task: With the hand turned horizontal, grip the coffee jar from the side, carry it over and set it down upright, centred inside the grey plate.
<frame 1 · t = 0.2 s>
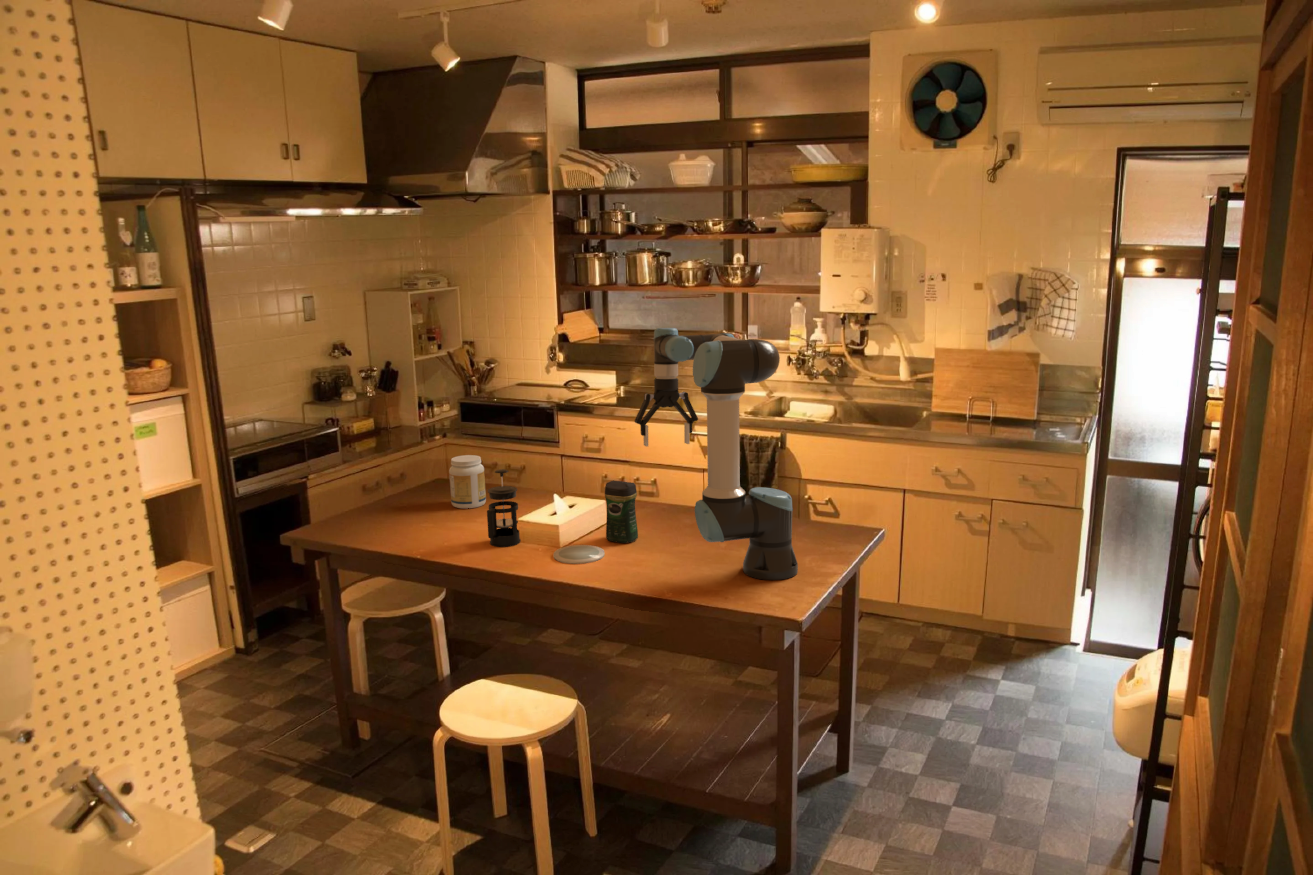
hand: (666, 444, 300), 27 cm above the table, tool pointing down, fingers open, 13 cm apart
coffee jar: (622, 540, 295), on the table
supplement tub: (468, 505, 337), on the table
grey plate: (579, 555, 281), on the table
french press: (504, 543, 294), on the table
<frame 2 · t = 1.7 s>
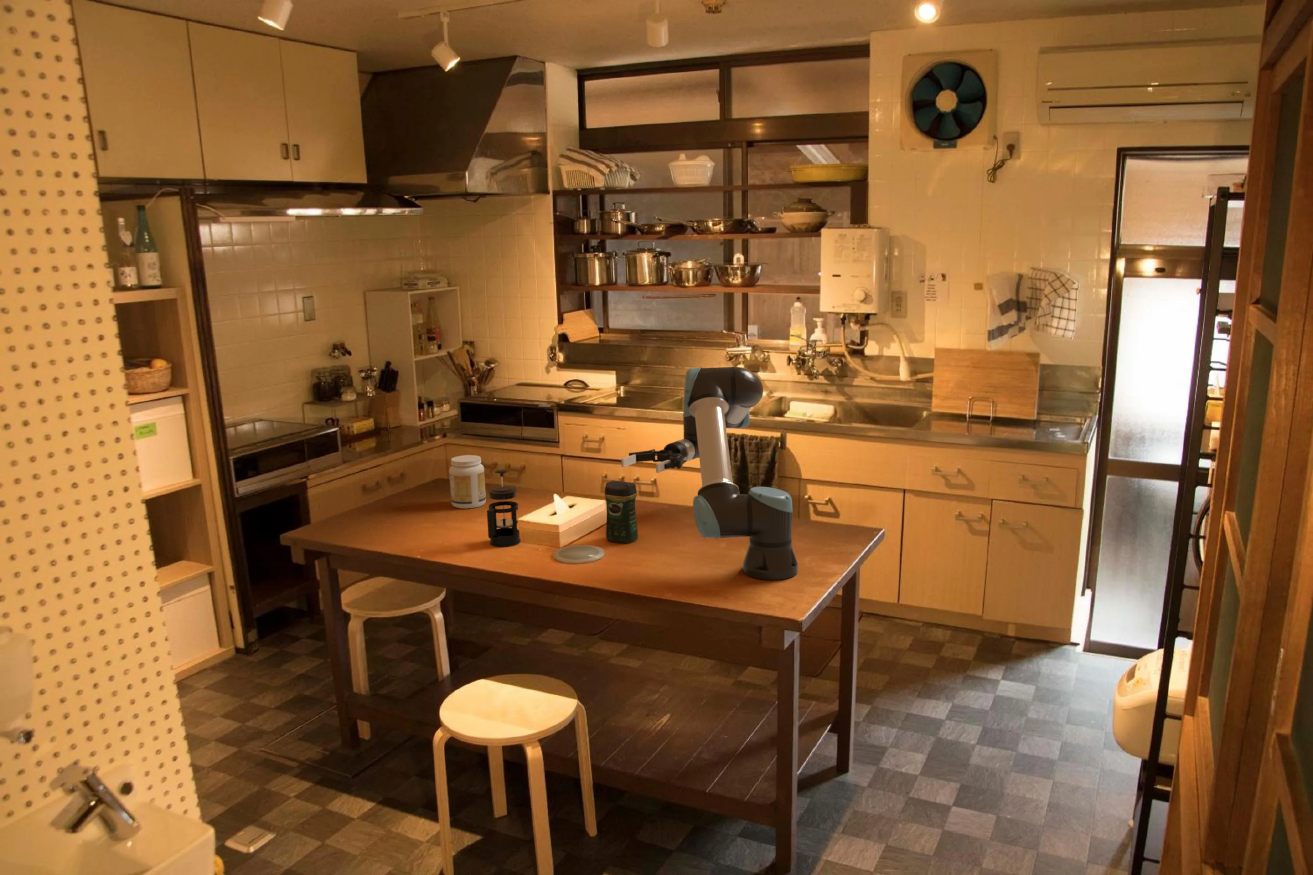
hand: (639, 465, 298), 22 cm above the table, tool horizontal, fingers open, 13 cm apart
nothing on the table moved.
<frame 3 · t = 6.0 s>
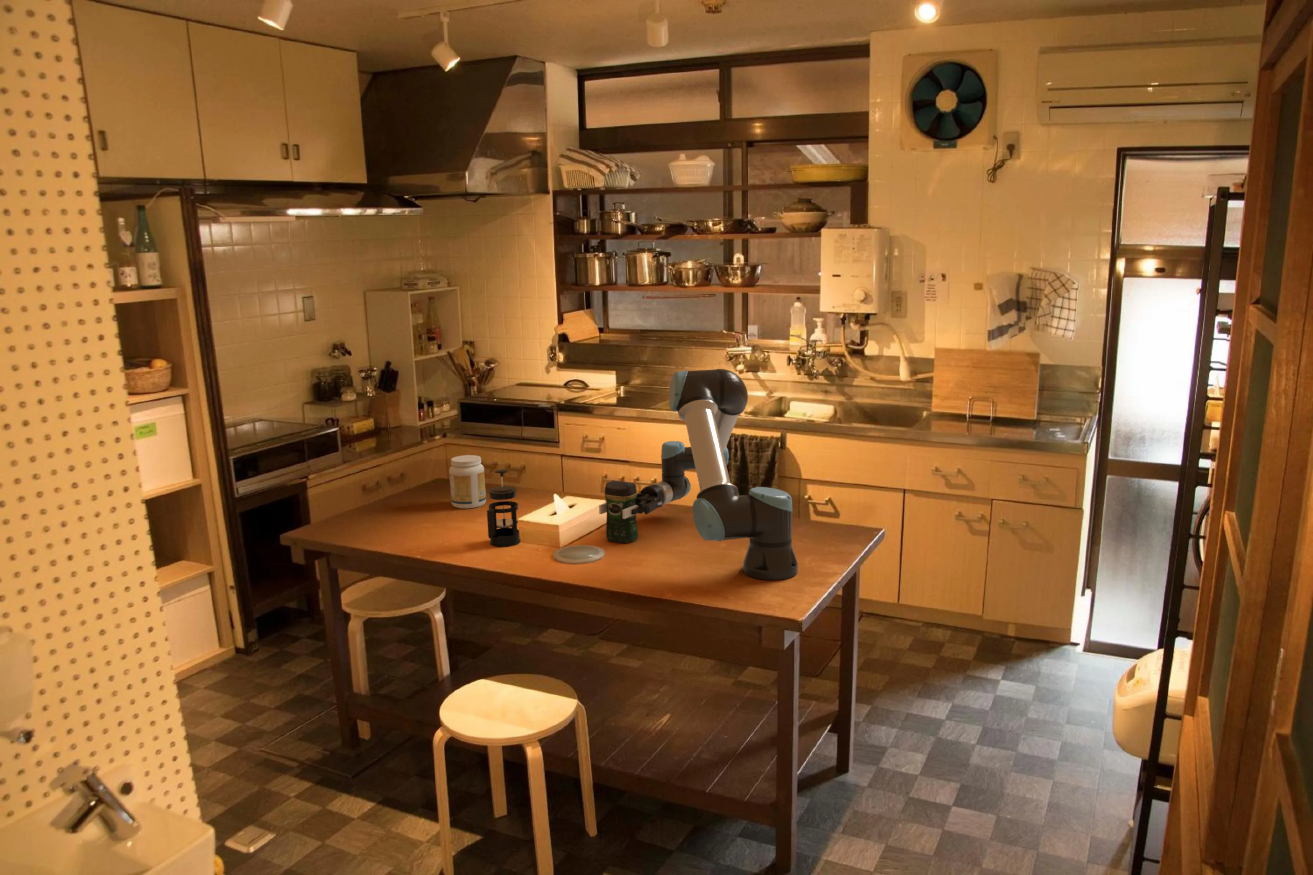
hand: (611, 512, 289), 10 cm above the table, tool horizontal, fingers closed on coffee jar, 8 cm apart
coffee jar: (622, 540, 295), on the table, touching gripper
everything else where it was.
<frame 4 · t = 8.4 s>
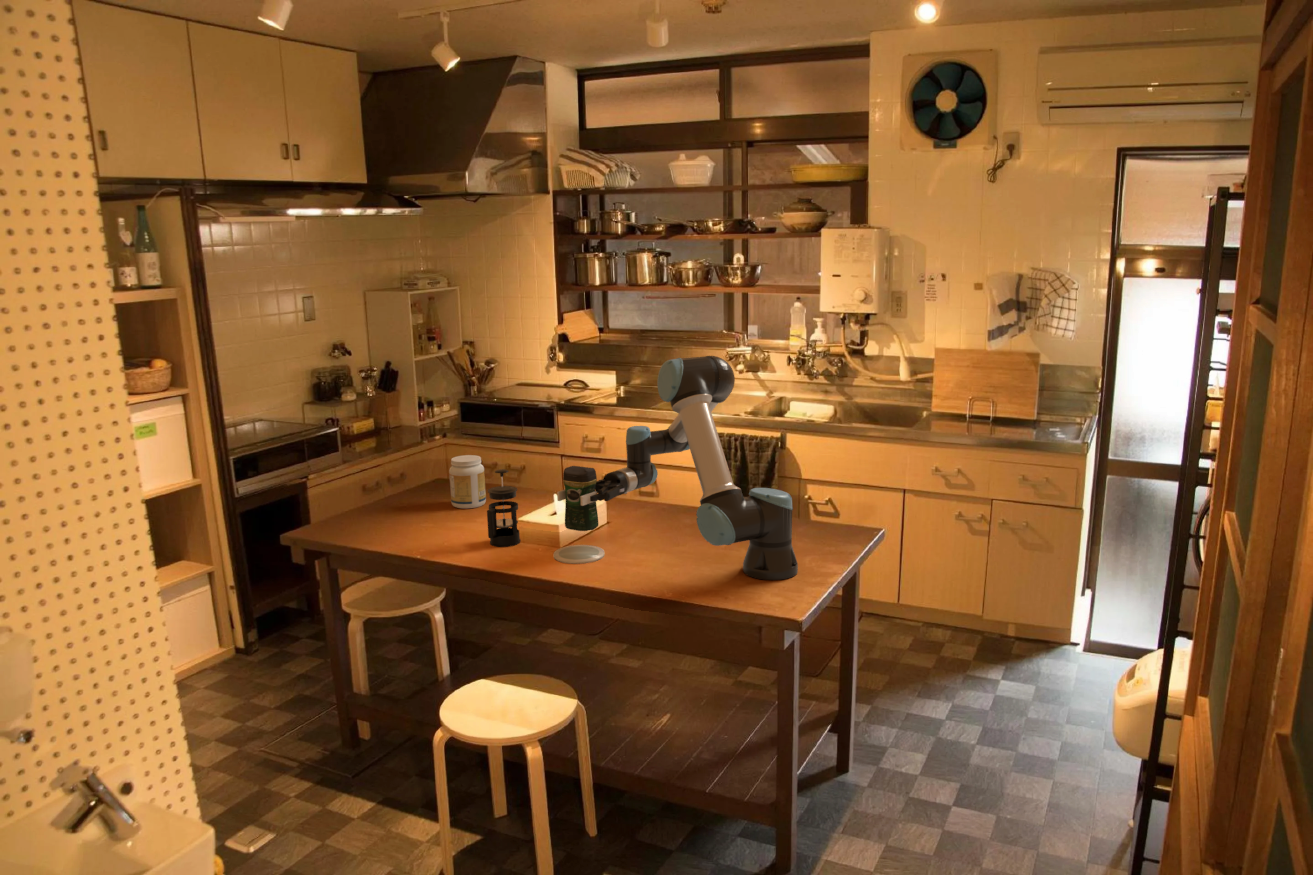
hand: (569, 498, 276), 18 cm above the table, tool horizontal, fingers closed on coffee jar, 8 cm apart
coffee jar: (581, 528, 281), point 8 cm above the table, touching gripper
everything else where it was.
when the fingers open (12 cm above the table, at t = 10.8 s): coffee jar drops 1 cm, resting on grey plate.
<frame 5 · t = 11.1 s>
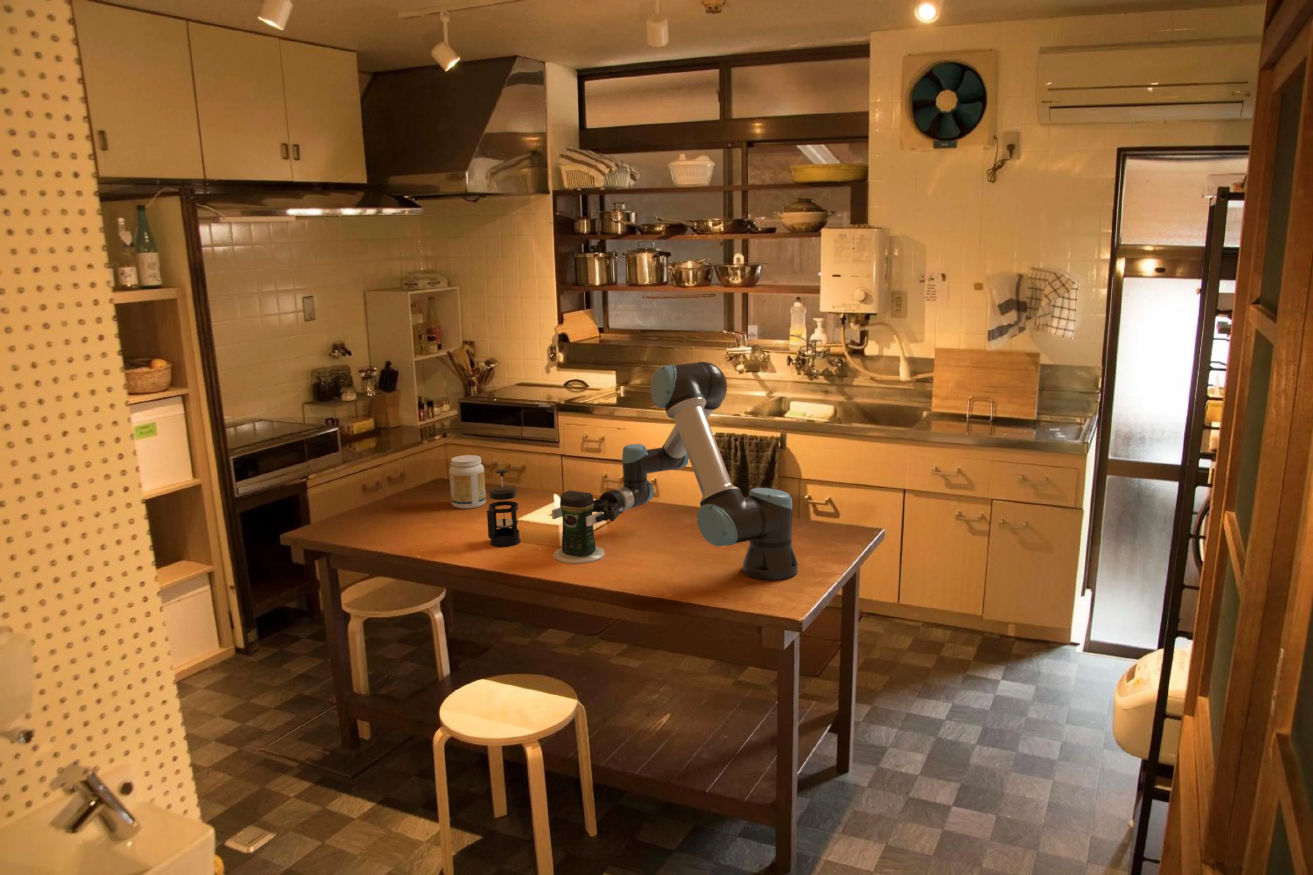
hand: (569, 518, 276), 12 cm above the table, tool horizontal, fingers open, 12 cm apart
coffee jar: (578, 553, 281), point 1 cm above the table, touching grey plate
everything else where it was.
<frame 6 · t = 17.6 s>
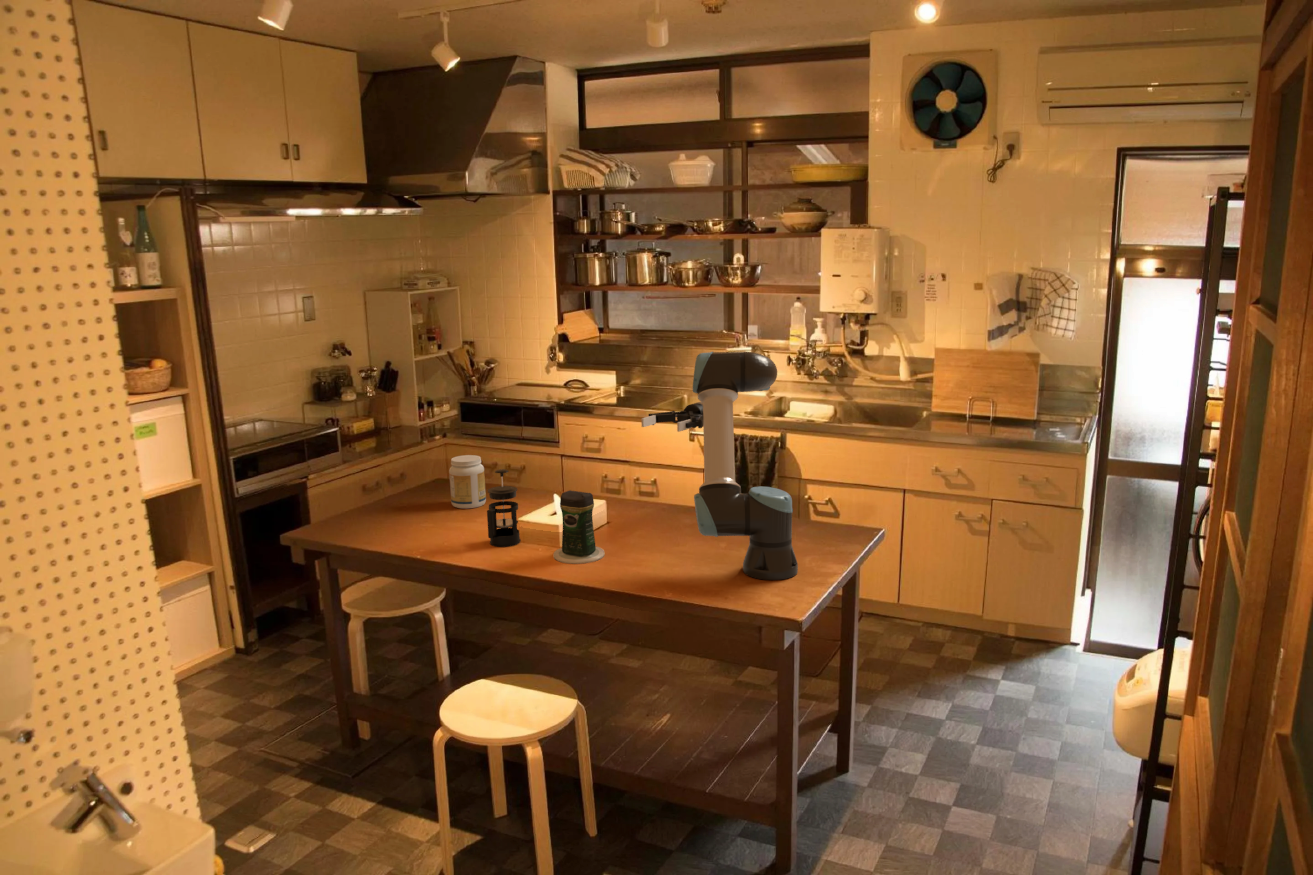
hand: (660, 424, 293), 35 cm above the table, tool horizontal, fingers open, 13 cm apart
nothing on the table moved.
at the end: coffee jar 0.1 cm from the grey plate (horizontally); coffee jar tilted 0°; the gripper is holding nothing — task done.
